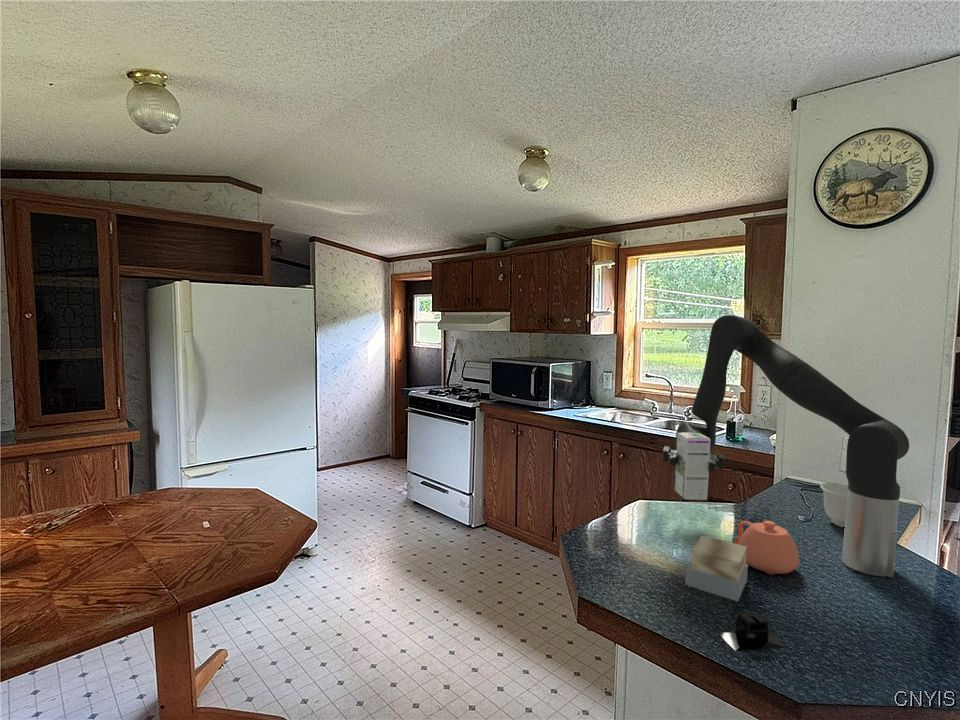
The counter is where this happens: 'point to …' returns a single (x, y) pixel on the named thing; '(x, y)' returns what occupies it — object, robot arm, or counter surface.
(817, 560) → the counter surface
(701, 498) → the syrup box
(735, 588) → the tower base
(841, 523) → the teacup
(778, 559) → the salmon teapot
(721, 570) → the tower top
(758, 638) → the black slotted chunky part
